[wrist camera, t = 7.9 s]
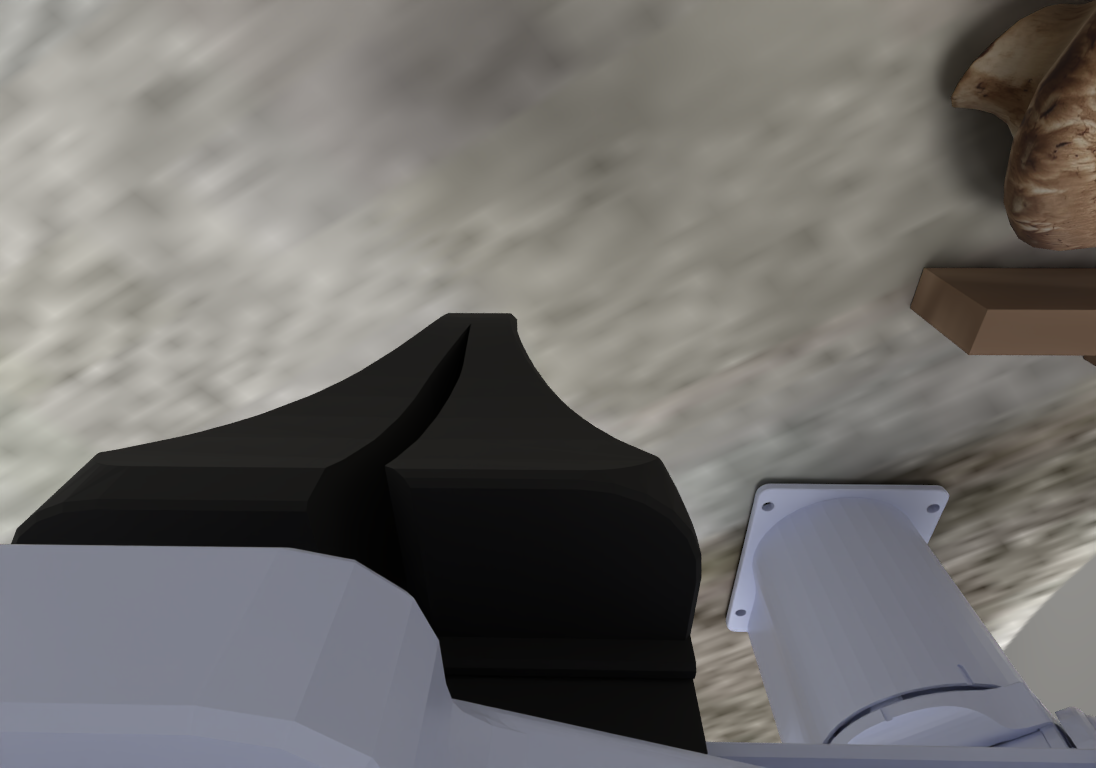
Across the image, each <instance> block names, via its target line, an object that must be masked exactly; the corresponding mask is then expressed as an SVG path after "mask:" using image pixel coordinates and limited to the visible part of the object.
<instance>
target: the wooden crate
mask: <svg viewBox="0 0 1096 768" xmlns="http://www.w3.org/2000/svg"><path fill="white" fill-rule="evenodd" d="M910 308H911V309H912V310H913V311H914V312H916V313H917V314H918V315H919V316H921V317H922V318H923V319H924V320H926V321H927V322H928V323H929V324H931V325H932V326H933V327H934V328H936V329H937V330H938V331H939V332H941V333H942V334H943V335H944V336H946V337H947V338H948V339H949V340H951V341H952V342H953V343H954V344H956V345H957V346H958V347H959V348H961V349H962V350H963V351H965V352H966V353H967V354H968V355H1085V356H1084V359H1085V360H1087V361H1088V362H1090V363H1092V364H1093V365H1095V366H1096V268H924V269H923V272H922V275H921V278H920V281H919V284H918V287H917V290H916V292H915V295H914V298H913V301H912V304H911V307H910Z"/></svg>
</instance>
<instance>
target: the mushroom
mask: <svg viewBox="0 0 1096 768" xmlns="http://www.w3.org/2000/svg"><path fill="white" fill-rule="evenodd" d="M951 101H952V106H953V107H954V108H967V109H978V110H981V111H985V112H988V113H992V114H994V115H996V116H997V117H998V118H1000V119H1001V120H1002V121H1004V122H1005V123H1007V124H1008V127H1009V129H1010V131H1011V133H1012V136H1013V142H1012V147H1011V151H1010V156H1009V161H1008V166H1007V171H1006V176H1005V180H1004V205H1005V209H1006V212H1007V215H1008V219H1009V222H1010V225H1011V226H1012V228H1013V230H1014V231H1015V233H1016V235H1017V237H1018V238H1019V239H1021V240H1022V241H1024V242H1026V243H1027V244H1029V245H1031V246H1032V247H1036V248H1043V249H1050V250H1057V251H1063V250H1073V249H1082V248H1092V247H1096V0H1094V1H1091V2H1088V3H1085V4H1078V5H1074V4H1057V5H1051V6H1047V7H1044V8H1042V9H1040V10H1038V11H1036V12H1034V13H1032V14H1030V15H1028V16H1026V17H1024V18H1022V19H1020V20H1019V21H1018V22H1017V23H1015V24H1014V25H1013V26H1012V27H1011V28H1009V29H1008V30H1007V31H1006V32H1005V33H1003V34H1002V35H1001V36H1000V37H999V38H997V39H996V40H995V41H994V42H993V43H992V44H991V45H990V46H989V47H988V48H987V49H986V50H985V51H984V52H983V53H982V54H981V55H980V56H979V57H978V58H977V59H976V60H975V61H974V62H973V63H972V64H971V65H970V67H969V68H968V70H967V71H966V72H965V74H964V75H963V77H962V78H961V79H960V81H959V82H958V84H957V86H956V88H955V90H954V92H953V94H952V96H951Z"/></svg>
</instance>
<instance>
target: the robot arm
mask: <svg viewBox="0 0 1096 768" xmlns="http://www.w3.org/2000/svg"><path fill="white" fill-rule="evenodd" d="M948 499H949V494H948V492H947V491H946V490H945V489H944V488H943V487H942V486H939V485H867V484H765V485H762V486H761V487H760V488H758V490H757V492H756V495H755V499H754V503H753V508H752V512H751V516H750V520H749V524H748V529H747V533H746V537H745V541H744V545H743V550H742V554H741V558H740V562H739V566H738V571H737V575H736V579H735V583H734V587H733V592H732V596H731V600H730V604H729V608H728V612H727V617H726V624H727V627H728V629H729V630H731V631H735V632H748V634H749V638H750V641H751V644H752V647H753V651H754V654H755V657H756V660H757V664H758V667H759V670H760V673H761V676H762V680H763V683H764V686H765V689H766V693H767V696H768V699H769V702H770V706H771V709H772V712H773V715H774V719H775V722H776V725H777V728H778V732H779V735H780V738H781V741H782V743H750V742H706V741H705V736H704V731H703V726H702V722H701V717H700V712H699V707H698V702H697V697H696V692H695V687H694V682H693V679H695V675H696V661H695V656H694V651H693V646H692V642H691V637H690V633H691V628H692V623H693V618H694V613H695V607H696V602H697V597H698V592H699V587H700V582H701V551H700V548H699V544H698V539H697V536H696V533H695V530H694V527H693V524H692V522H691V519H690V517H689V515H688V512H687V510H686V508H685V505H684V503H683V501H682V499H681V497H680V495H679V492H678V490H677V488H676V486H675V484H674V483H673V481H672V479H671V477H670V475H669V473H668V471H667V469H666V468H665V466H664V464H663V462H662V461H661V460H660V458H659V457H657V456H654V455H652V454H650V453H647V452H645V451H643V450H640V449H638V448H636V447H634V446H631V445H629V444H627V443H624V442H622V441H620V440H618V439H616V438H614V437H612V436H610V435H609V434H607V433H605V432H603V431H602V430H600V429H598V428H597V427H595V426H593V425H592V424H590V423H589V422H587V421H586V420H584V419H583V418H582V417H580V416H579V415H578V414H577V413H575V412H574V411H573V410H572V409H570V408H569V407H568V406H567V405H566V404H565V403H564V402H563V401H562V400H561V399H560V398H559V397H558V396H557V395H556V394H555V393H554V392H553V391H552V390H551V388H550V387H549V386H548V385H547V383H546V382H545V381H544V380H543V378H542V377H541V375H540V374H539V372H538V371H537V370H536V368H535V367H534V365H533V363H532V362H531V360H530V358H529V356H528V354H527V353H526V351H525V349H524V347H523V345H522V342H521V340H520V338H519V335H518V332H517V319H516V318H515V317H514V316H513V315H512V314H511V313H448V314H446V315H444V316H442V317H440V318H439V319H437V320H436V321H435V322H433V323H432V324H430V325H429V326H428V327H426V328H425V329H423V330H422V331H421V332H419V333H418V334H416V335H415V336H414V337H412V338H411V339H409V340H408V341H406V342H405V343H404V344H402V345H401V346H399V347H398V348H396V349H395V350H393V351H392V352H390V353H389V354H387V355H385V356H384V357H382V358H381V359H379V360H377V361H376V362H374V363H373V364H371V365H369V366H368V367H366V368H364V369H363V370H361V371H359V372H358V373H356V374H354V375H352V376H350V377H348V378H346V379H345V380H343V381H341V382H339V383H336V384H334V385H332V386H330V387H328V388H326V389H324V390H322V391H320V392H317V393H315V394H313V395H310V396H308V397H305V398H303V399H300V400H298V401H295V402H292V403H290V404H287V405H284V406H282V407H279V408H276V409H274V410H271V411H268V412H266V413H263V414H260V415H257V416H254V417H251V418H247V419H244V420H241V421H238V422H234V423H231V424H228V425H224V426H220V427H216V428H213V429H209V430H205V431H202V432H198V433H194V434H189V435H185V436H181V437H177V438H172V439H167V440H162V441H157V442H152V443H147V444H142V445H137V446H132V447H127V448H123V449H117V450H112V451H106V452H100V453H98V454H97V455H95V456H94V457H93V458H92V459H91V460H90V461H89V462H88V463H87V464H86V465H85V466H84V467H83V468H81V469H80V470H79V471H78V472H77V473H76V474H75V475H74V476H73V477H72V478H71V479H70V480H69V481H68V482H66V483H65V484H64V485H63V486H62V487H61V488H60V489H59V490H58V491H57V492H56V493H55V494H54V495H52V496H51V497H50V498H49V499H48V500H47V501H46V502H45V503H44V504H43V505H42V506H41V507H40V508H39V509H37V510H36V511H35V512H34V513H33V514H32V515H31V516H30V517H29V518H28V519H27V520H26V521H25V522H24V523H22V524H21V525H20V526H19V527H18V528H17V530H16V532H15V535H14V538H13V540H12V543H11V544H0V768H1096V716H1093V715H1085V713H1083V712H1082V710H1080V709H1079V708H1076V707H1068V708H1065V709H1062V710H1059V711H1056V712H1055V713H1056V715H1057V717H1058V719H1059V721H1060V723H1061V724H1062V725H1061V724H1060V723H1059V722H1058V720H1057V719H1056V718H1055V717H1054V716H1053V715H1052V714H1051V712H1050V711H1049V710H1048V709H1047V708H1046V707H1045V706H1044V705H1043V703H1042V702H1041V701H1040V700H1039V699H1038V698H1037V697H1036V696H1035V694H1034V693H1033V692H1032V691H1031V690H1030V688H1029V687H1028V685H1027V684H1026V683H1025V681H1024V680H1023V678H1022V677H1021V675H1020V674H1019V673H1018V671H1017V670H1016V668H1015V667H1014V666H1013V664H1012V663H1011V661H1010V660H1009V659H1008V657H1007V656H1006V654H1005V653H1004V652H1003V650H1002V649H1001V647H1000V646H999V645H998V643H997V642H996V640H995V639H994V638H993V636H992V635H991V633H990V632H989V630H988V629H987V628H986V626H985V625H984V623H983V622H982V621H981V619H980V618H979V616H978V615H977V614H976V612H975V611H974V609H973V608H972V607H971V605H970V604H969V602H968V601H967V600H966V598H965V597H964V595H963V594H962V593H961V591H960V590H959V588H958V587H957V585H956V584H955V583H954V581H953V580H952V578H951V577H950V576H949V574H948V573H947V571H946V570H945V569H944V567H943V566H942V564H941V563H940V562H939V560H938V559H937V557H936V556H935V555H934V553H933V552H932V550H931V549H930V547H929V546H928V545H927V544H928V542H929V540H930V538H931V535H932V533H933V531H934V529H935V527H936V525H937V523H938V520H939V518H940V516H941V514H942V512H943V510H944V508H945V506H946V503H947V501H948ZM767 502H770V503H769V504H767V505H763V504H765V503H767ZM930 505H931V506H930Z"/></svg>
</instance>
